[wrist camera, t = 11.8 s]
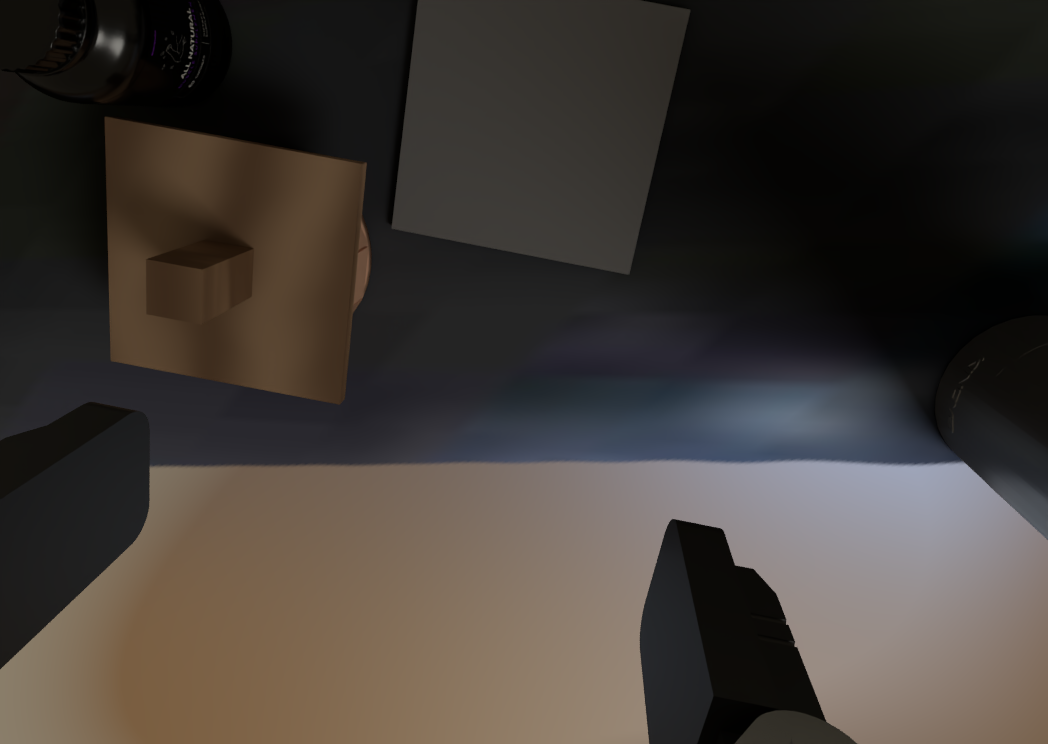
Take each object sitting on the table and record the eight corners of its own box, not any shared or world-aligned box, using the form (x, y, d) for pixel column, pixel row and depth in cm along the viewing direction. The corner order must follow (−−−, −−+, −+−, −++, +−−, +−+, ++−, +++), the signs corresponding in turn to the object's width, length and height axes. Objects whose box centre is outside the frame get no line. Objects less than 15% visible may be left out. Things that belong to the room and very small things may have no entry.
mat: (689, 11, 35) (690, 9, 35) (628, 272, 40) (628, 274, 39) (424, -39, 36) (422, -41, 35) (393, 227, 40) (391, 228, 40)
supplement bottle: (260, 77, 38) (123, 63, 27) (150, 126, 39) (-25, 133, 28) (196, -63, 36) (19, -142, 25) (82, -7, 37) (-135, -57, 26)
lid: (366, 162, 34) (324, 172, 29) (344, 398, 38) (304, 446, 33) (115, 116, 34) (26, 117, 29) (120, 355, 38) (43, 396, 33)
